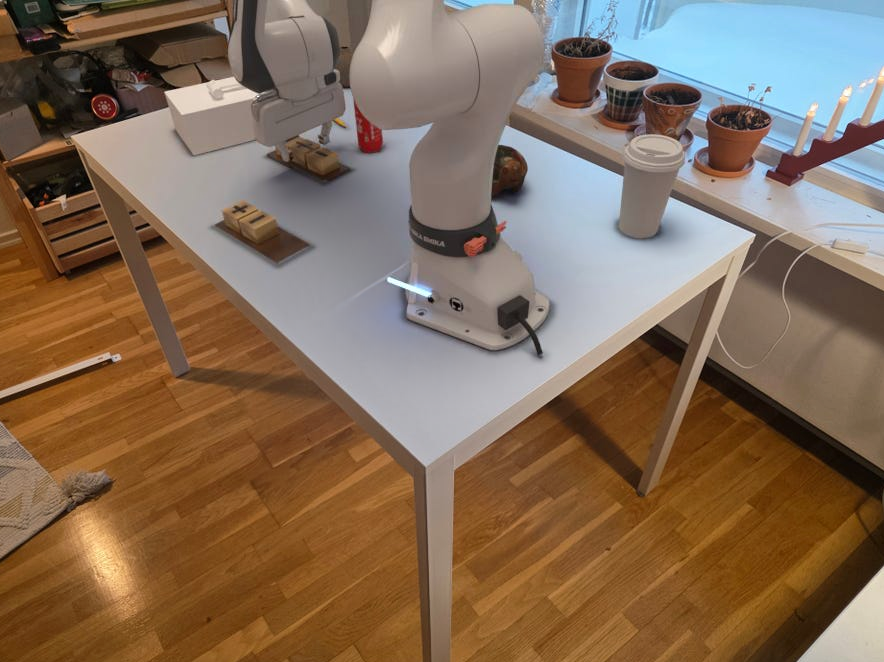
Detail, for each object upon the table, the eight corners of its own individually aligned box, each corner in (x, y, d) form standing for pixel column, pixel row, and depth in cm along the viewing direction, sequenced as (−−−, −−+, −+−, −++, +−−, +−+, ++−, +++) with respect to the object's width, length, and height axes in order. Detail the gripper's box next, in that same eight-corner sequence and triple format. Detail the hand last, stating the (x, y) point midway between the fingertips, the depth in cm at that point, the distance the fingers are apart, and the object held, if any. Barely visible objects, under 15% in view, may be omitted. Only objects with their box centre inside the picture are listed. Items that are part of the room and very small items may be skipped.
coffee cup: (597, 227, 112) (612, 144, 102) (632, 207, 116) (649, 126, 106) (643, 250, 107) (663, 165, 96) (678, 229, 111) (700, 145, 101)
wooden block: (323, 159, 131) (321, 144, 129) (306, 167, 129) (303, 152, 127) (307, 152, 134) (305, 137, 132) (290, 159, 131) (287, 145, 129)
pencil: (330, 115, 148) (329, 112, 148) (348, 128, 143) (348, 125, 143) (327, 116, 148) (326, 113, 148) (345, 129, 143) (344, 126, 142)
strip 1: (310, 247, 110) (307, 228, 107) (277, 265, 106) (273, 246, 103) (247, 211, 119) (242, 193, 116) (214, 227, 115) (209, 209, 112)
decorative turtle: (495, 212, 116) (494, 170, 111) (461, 180, 127) (458, 140, 122) (543, 198, 118) (544, 156, 113) (506, 168, 129) (505, 128, 124)
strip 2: (350, 170, 129) (348, 153, 127) (324, 183, 126) (321, 166, 123) (293, 144, 138) (290, 128, 136) (267, 156, 135) (263, 139, 132)
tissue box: (176, 130, 145) (160, 80, 137) (281, 105, 154) (272, 57, 146) (193, 155, 136) (178, 103, 128) (304, 127, 145) (296, 77, 137)
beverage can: (379, 154, 134) (374, 96, 126) (355, 152, 135) (349, 94, 127) (386, 143, 138) (381, 86, 129) (362, 141, 138) (356, 84, 130)
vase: (366, 85, 161) (363, 48, 155) (341, 91, 159) (337, 54, 153) (355, 77, 166) (351, 40, 160) (330, 82, 163) (325, 46, 157)
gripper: (259, 102, 113) (274, 175, 123) (346, 69, 124) (354, 138, 134) (238, 94, 117) (255, 165, 126) (324, 62, 127) (333, 130, 137)
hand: (306, 151), depth 130 cm, fingers open, 8 cm apart
